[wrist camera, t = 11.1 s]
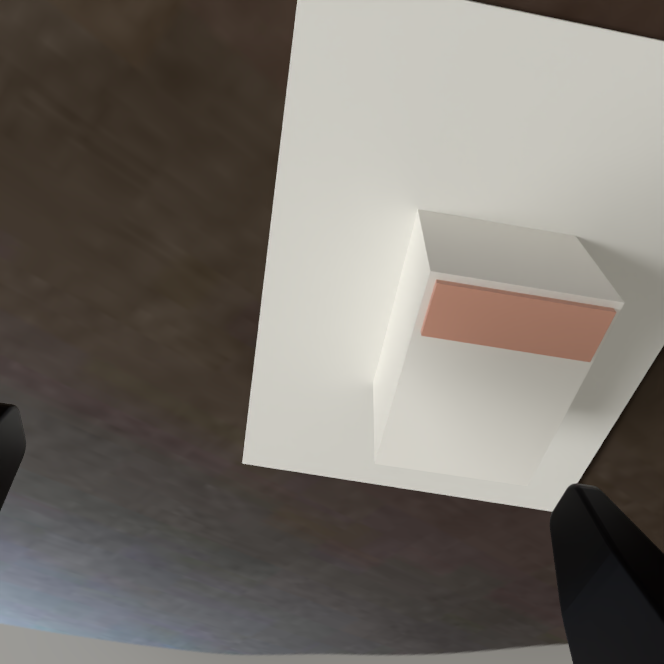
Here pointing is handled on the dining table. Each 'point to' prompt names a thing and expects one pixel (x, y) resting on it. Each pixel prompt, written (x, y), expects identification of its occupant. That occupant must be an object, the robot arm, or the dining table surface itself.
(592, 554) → the robot arm
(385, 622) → the dining table surface
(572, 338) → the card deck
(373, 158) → the mat
